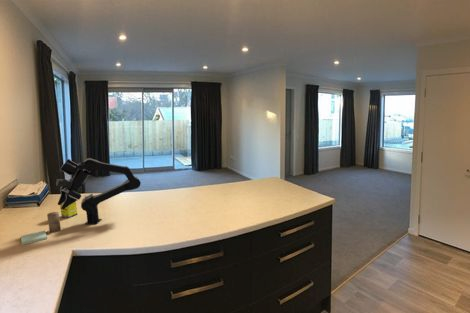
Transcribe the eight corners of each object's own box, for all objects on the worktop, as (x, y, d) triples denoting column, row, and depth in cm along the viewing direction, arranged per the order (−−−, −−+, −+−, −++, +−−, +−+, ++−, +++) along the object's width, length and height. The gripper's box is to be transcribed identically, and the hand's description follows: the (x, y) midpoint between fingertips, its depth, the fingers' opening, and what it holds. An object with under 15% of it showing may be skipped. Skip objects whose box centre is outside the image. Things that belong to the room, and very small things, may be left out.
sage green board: (21, 237, 150) (20, 235, 150) (45, 232, 156) (44, 230, 156) (22, 244, 142) (21, 242, 142) (47, 238, 148) (46, 236, 148)
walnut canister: (53, 228, 160) (50, 212, 159) (62, 228, 160) (60, 211, 159) (47, 232, 155) (44, 215, 154) (57, 232, 155) (54, 215, 154)
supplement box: (61, 217, 177) (58, 198, 175) (70, 213, 182) (67, 195, 181) (69, 218, 175) (66, 199, 173) (77, 214, 180) (75, 196, 178)
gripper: (60, 170, 163) (41, 196, 159) (68, 174, 149) (48, 203, 145) (79, 180, 170) (62, 205, 165) (89, 185, 156) (70, 213, 151)
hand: (60, 206), depth 156 cm, fingers open, 9 cm apart
